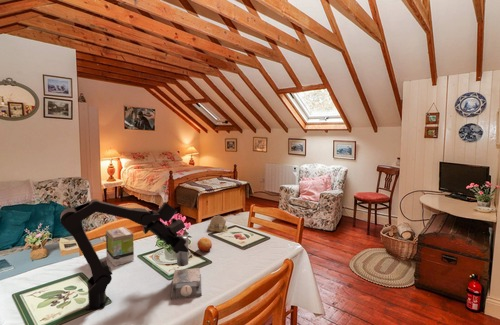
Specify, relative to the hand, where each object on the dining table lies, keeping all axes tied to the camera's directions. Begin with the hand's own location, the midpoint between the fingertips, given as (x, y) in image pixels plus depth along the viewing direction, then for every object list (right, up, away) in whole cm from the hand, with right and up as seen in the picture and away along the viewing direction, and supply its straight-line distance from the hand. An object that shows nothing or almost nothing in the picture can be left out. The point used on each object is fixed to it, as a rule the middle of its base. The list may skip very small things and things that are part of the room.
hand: (185, 249), depth 122 cm
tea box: (-39, -12, +19) cm, 45 cm away
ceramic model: (+7, -8, +66) cm, 66 cm away
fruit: (+3, -11, +30) cm, 32 cm away
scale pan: (+2, -12, -6) cm, 13 cm away
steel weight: (-1, -7, 0) cm, 7 cm away
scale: (+2, -14, -7) cm, 16 cm away
